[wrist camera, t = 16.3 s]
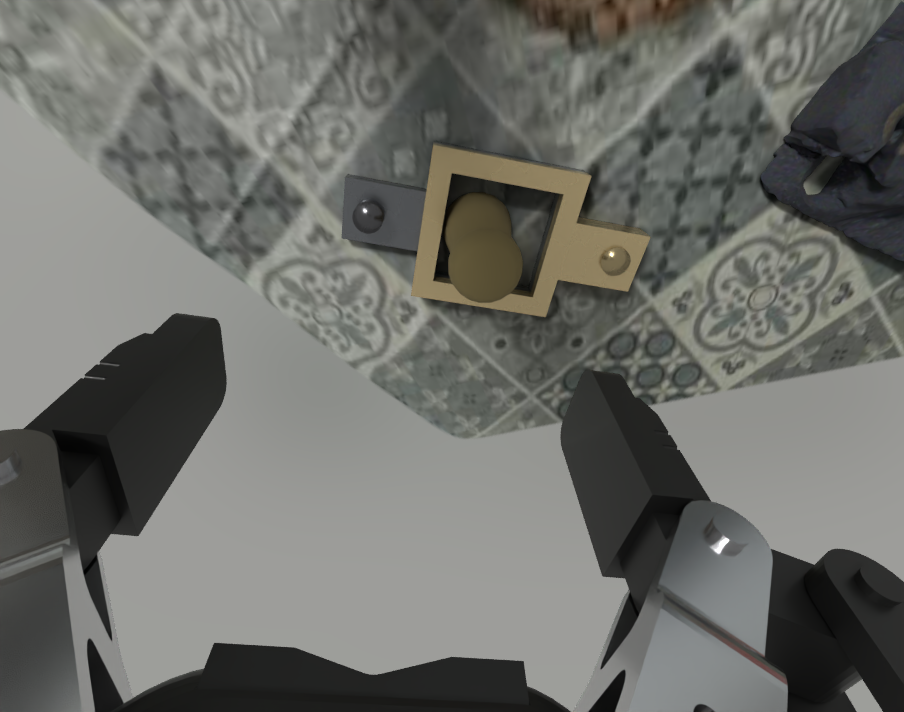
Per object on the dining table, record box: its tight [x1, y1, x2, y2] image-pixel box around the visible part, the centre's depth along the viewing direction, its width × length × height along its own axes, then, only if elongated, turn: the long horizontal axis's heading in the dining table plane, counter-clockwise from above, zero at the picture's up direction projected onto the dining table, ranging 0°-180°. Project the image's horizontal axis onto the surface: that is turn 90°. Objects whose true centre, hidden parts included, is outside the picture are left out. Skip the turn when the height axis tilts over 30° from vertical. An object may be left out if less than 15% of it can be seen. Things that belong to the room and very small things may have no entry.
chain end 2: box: [411, 143, 650, 317], centre depth 39 cm, size 12×19×3 cm, turn 80°
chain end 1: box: [342, 141, 586, 292], centre depth 38 cm, size 12×19×3 cm, turn 80°
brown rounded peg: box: [442, 192, 523, 303], centre depth 35 cm, size 6×6×11 cm
